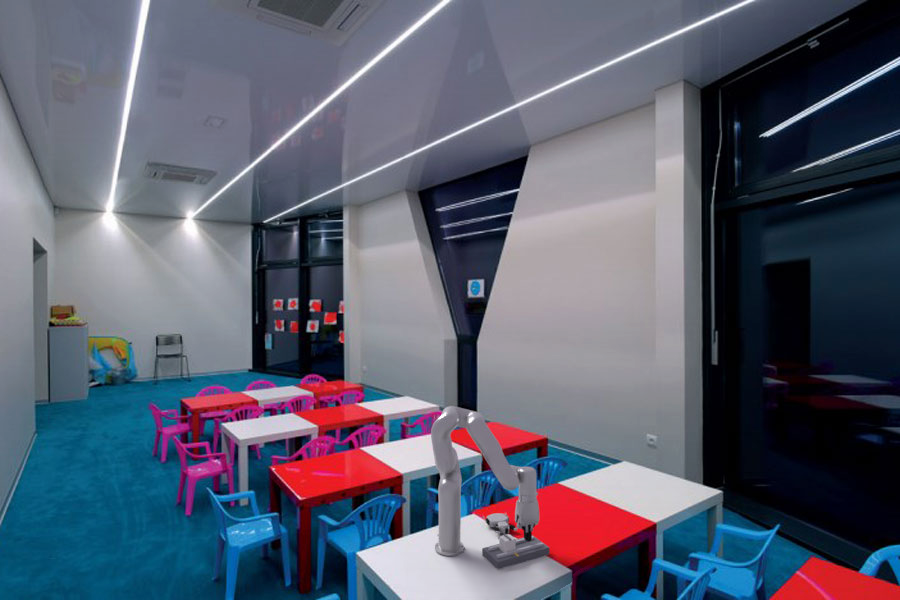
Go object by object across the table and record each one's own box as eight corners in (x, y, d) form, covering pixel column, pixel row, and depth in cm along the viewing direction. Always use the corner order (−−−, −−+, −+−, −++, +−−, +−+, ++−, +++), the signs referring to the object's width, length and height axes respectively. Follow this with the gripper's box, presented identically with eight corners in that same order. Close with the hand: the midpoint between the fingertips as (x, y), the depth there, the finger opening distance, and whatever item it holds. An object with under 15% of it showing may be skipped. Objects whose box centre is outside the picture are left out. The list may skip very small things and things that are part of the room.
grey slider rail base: (482, 555, 201) (482, 545, 201) (532, 541, 213) (532, 532, 213) (497, 569, 190) (497, 559, 190) (549, 554, 202) (549, 545, 202)
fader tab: (499, 548, 200) (499, 535, 201) (509, 545, 203) (509, 532, 203) (505, 553, 196) (505, 540, 196) (515, 551, 198) (515, 537, 199)
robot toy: (519, 535, 220) (504, 519, 234) (519, 526, 220) (505, 510, 234) (494, 540, 216) (481, 523, 230) (495, 530, 216) (482, 514, 230)
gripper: (536, 490, 211) (536, 532, 211) (507, 497, 204) (508, 540, 204) (546, 497, 204) (547, 539, 204) (517, 503, 197) (518, 548, 197)
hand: (527, 539), depth 204 cm, fingers closed
